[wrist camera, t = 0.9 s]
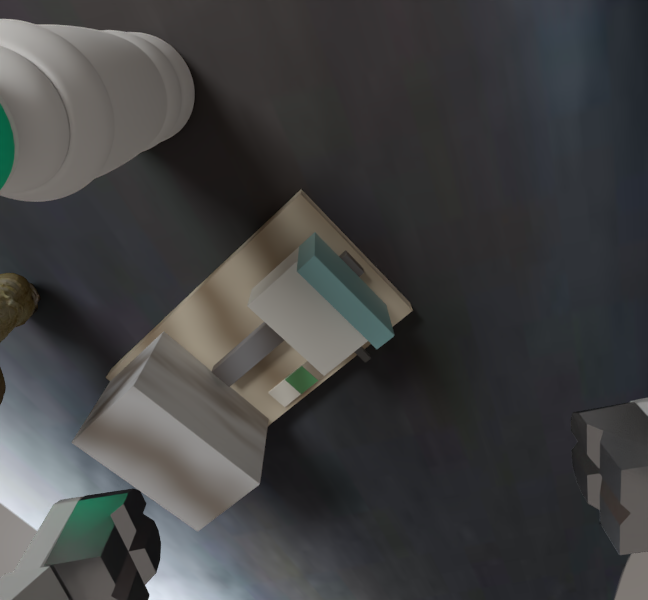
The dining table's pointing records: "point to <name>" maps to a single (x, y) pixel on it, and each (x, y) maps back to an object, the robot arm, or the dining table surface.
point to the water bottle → (82, 104)
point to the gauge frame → (216, 378)
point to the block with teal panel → (321, 306)
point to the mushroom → (15, 307)
